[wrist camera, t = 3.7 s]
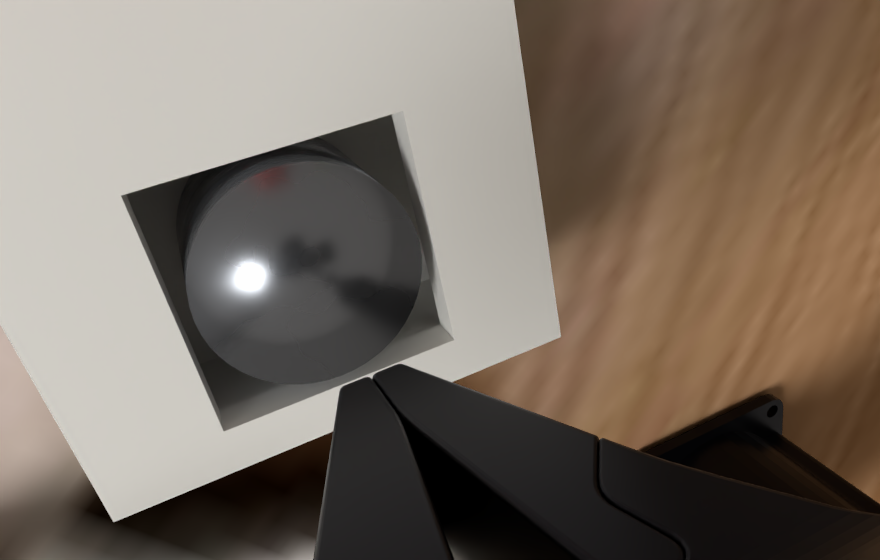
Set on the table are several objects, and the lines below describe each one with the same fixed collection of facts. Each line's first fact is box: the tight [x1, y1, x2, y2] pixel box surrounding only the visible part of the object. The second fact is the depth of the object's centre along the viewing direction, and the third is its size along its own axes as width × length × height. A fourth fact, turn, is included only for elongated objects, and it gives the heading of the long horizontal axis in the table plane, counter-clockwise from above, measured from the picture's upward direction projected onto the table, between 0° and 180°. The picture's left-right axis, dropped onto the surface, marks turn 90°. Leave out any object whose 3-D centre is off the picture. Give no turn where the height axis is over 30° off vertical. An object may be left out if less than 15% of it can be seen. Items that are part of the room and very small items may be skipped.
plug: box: [176, 137, 422, 384], centre depth 15 cm, size 4×4×3 cm
